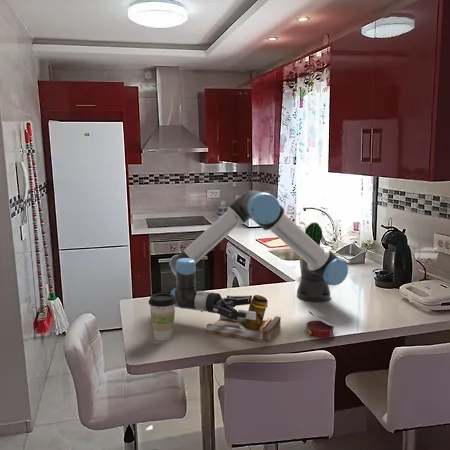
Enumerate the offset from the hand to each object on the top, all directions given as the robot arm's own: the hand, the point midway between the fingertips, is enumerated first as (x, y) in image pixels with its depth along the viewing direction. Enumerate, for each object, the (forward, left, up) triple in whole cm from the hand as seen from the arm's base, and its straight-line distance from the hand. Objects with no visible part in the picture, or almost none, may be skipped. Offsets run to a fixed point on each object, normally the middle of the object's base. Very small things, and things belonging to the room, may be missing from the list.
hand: (261, 309), depth 163 cm
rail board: (+7, -2, -9) cm, 11 cm away
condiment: (+4, -1, -7) cm, 9 cm away
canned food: (-21, -4, -9) cm, 23 cm away
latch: (-1, 0, -8) cm, 8 cm away
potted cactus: (-22, -78, -9) cm, 81 cm away
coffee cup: (+35, +8, -9) cm, 37 cm away
